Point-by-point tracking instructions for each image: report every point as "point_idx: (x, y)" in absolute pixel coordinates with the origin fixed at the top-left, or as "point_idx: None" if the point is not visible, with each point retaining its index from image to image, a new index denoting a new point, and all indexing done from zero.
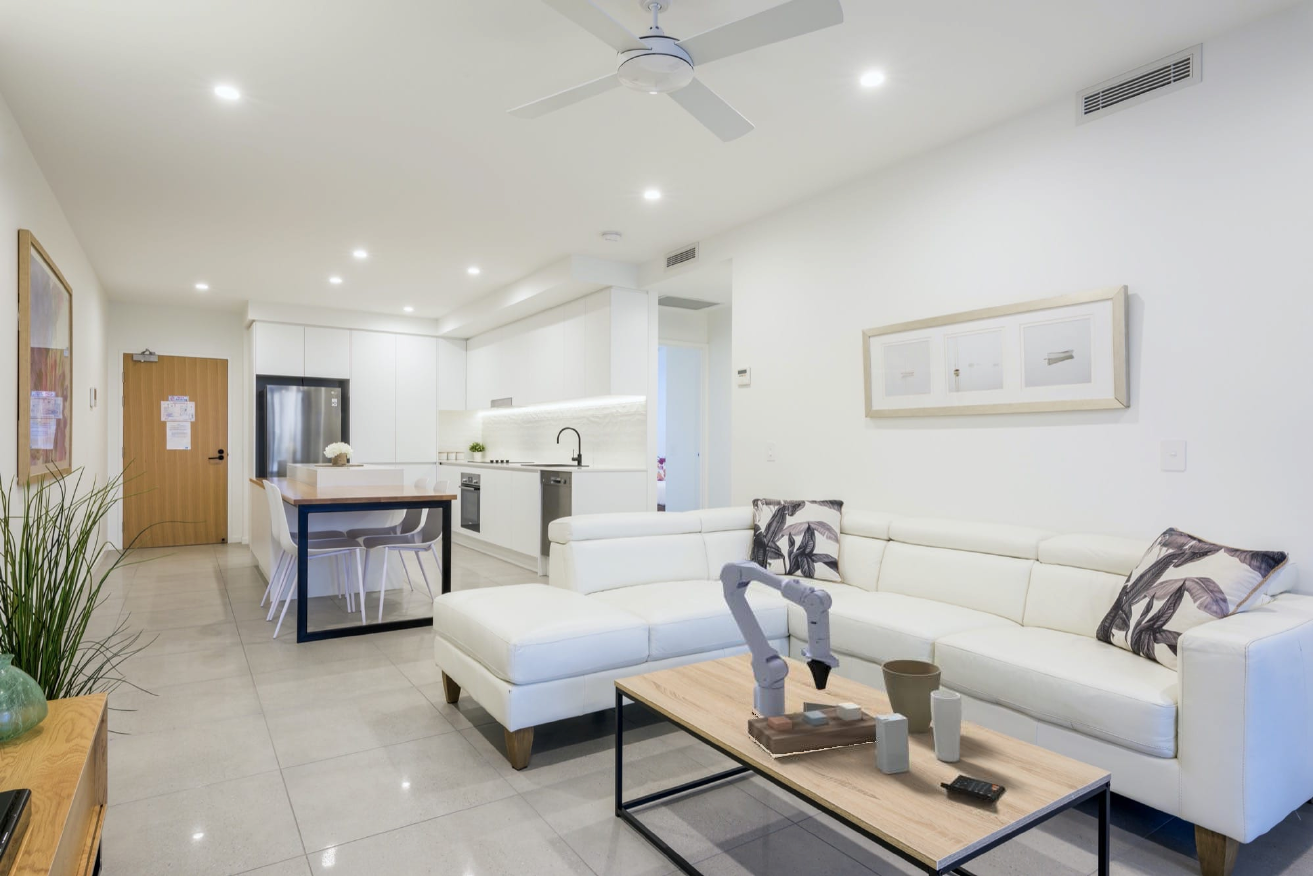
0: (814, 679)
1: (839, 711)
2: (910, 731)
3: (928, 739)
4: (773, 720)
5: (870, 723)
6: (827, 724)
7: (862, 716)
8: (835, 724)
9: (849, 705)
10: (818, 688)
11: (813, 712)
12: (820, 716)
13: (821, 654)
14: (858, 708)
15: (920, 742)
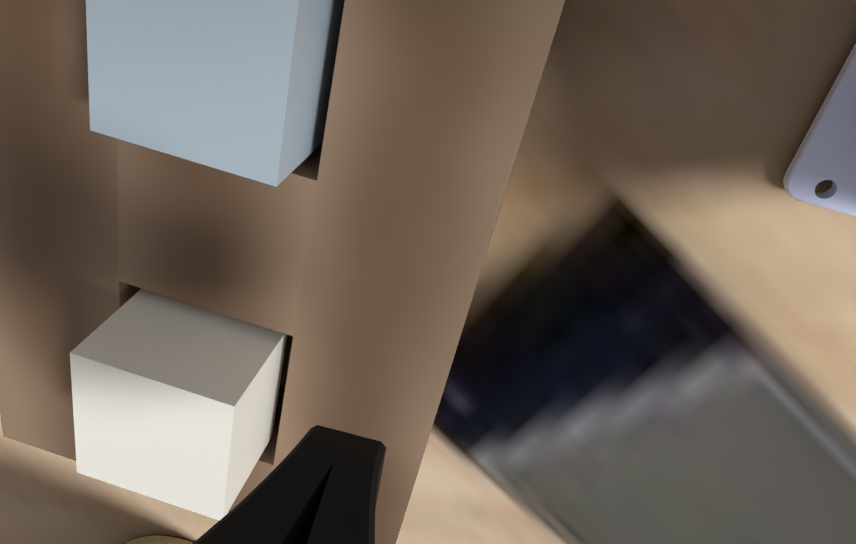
0: (338, 535)
1: (218, 355)
2: (138, 538)
3: (38, 515)
4: None
5: (14, 369)
6: None
7: None
8: (75, 144)
9: (152, 448)
10: (309, 434)
11: (254, 102)
12: (114, 68)
13: None
14: (79, 448)
15: (15, 465)
